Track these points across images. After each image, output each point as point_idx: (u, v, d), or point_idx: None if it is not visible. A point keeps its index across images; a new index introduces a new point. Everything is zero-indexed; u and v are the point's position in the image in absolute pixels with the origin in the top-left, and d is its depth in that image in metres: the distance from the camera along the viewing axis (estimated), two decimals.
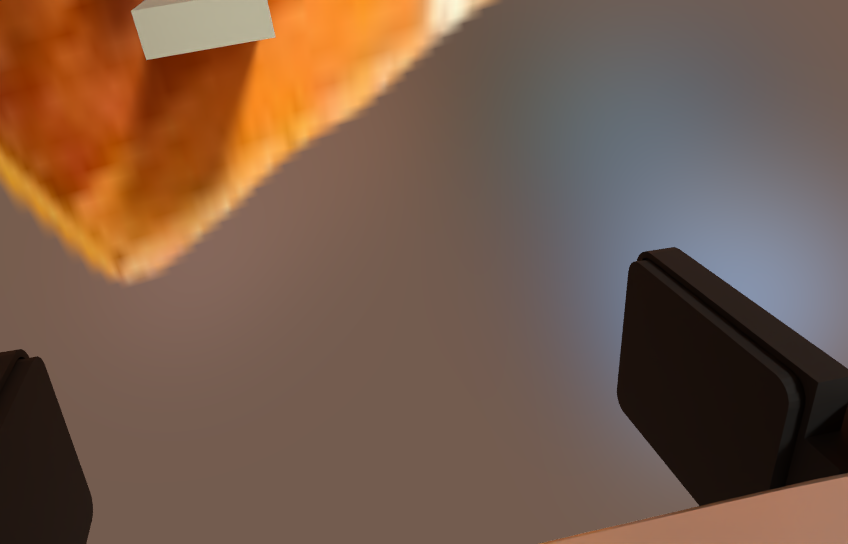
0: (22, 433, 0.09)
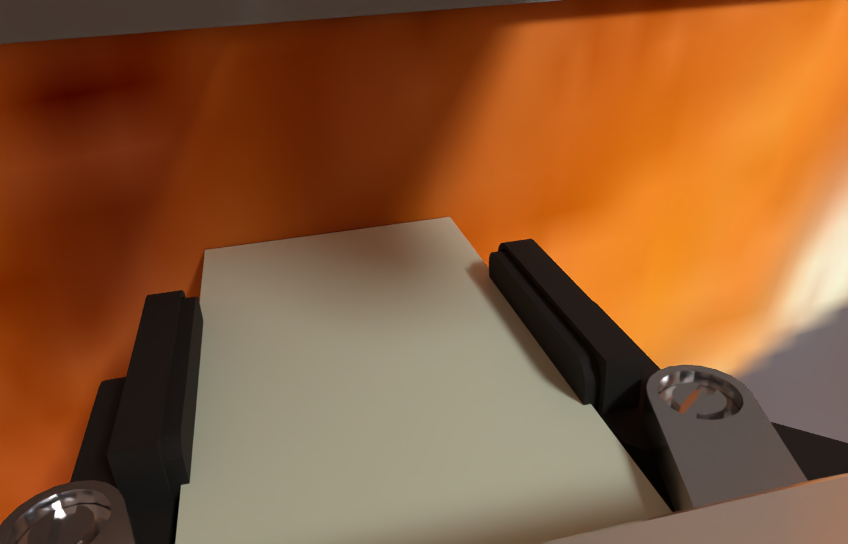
0: (197, 358, 0.10)
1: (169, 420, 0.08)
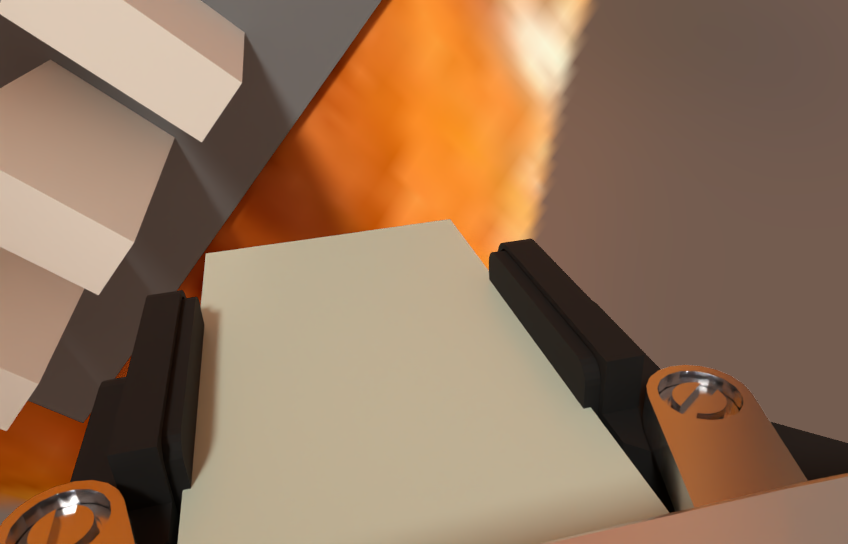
0: (198, 358, 0.10)
1: (169, 420, 0.08)
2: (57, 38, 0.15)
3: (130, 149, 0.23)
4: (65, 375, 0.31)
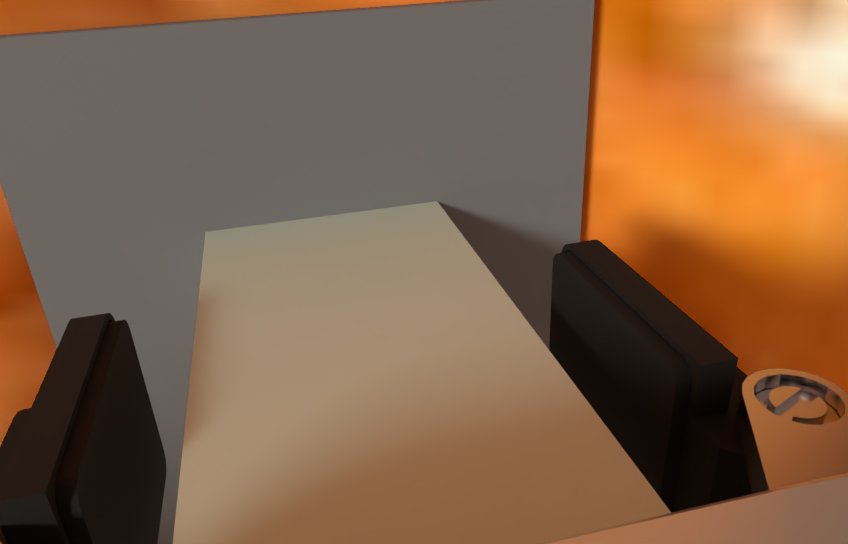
0: (120, 387, 0.09)
1: (67, 461, 0.07)
2: None
3: None
4: None
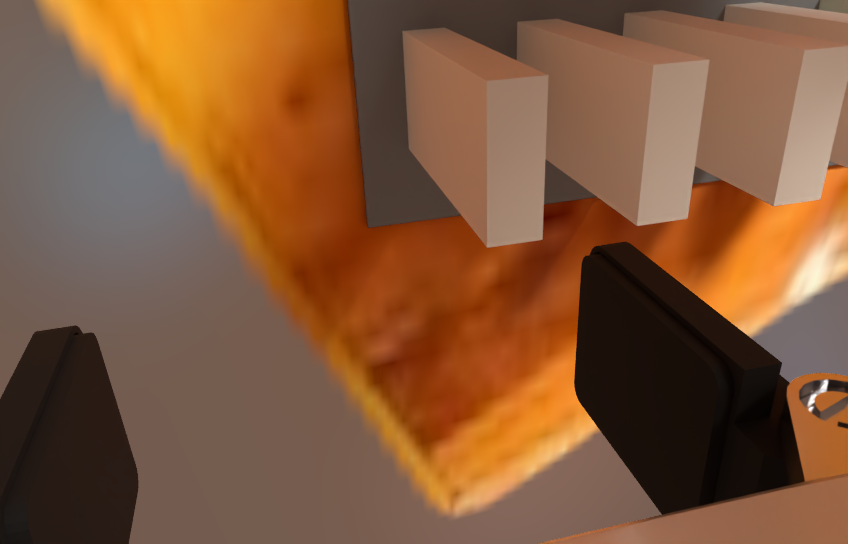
0: (82, 403, 0.09)
1: (18, 485, 0.07)
2: None
3: None
4: (407, 185, 0.31)
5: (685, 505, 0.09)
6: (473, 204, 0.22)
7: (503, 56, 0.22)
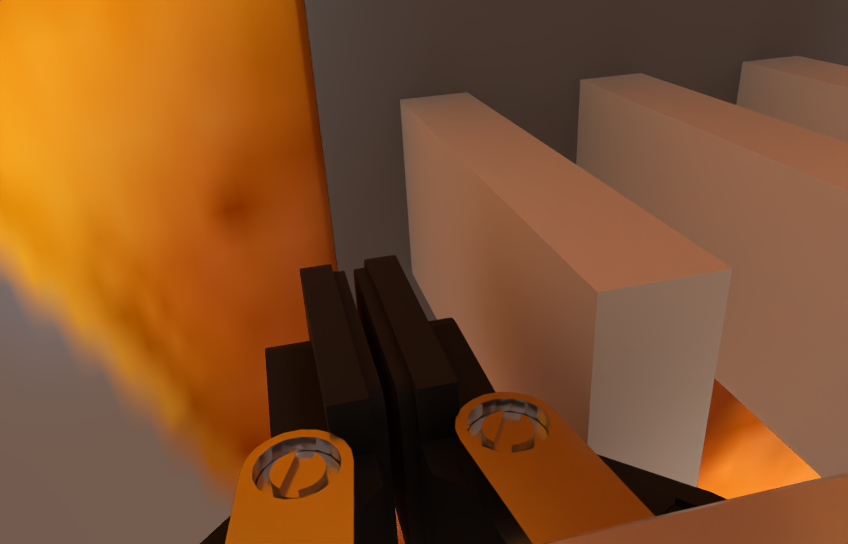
0: None
1: (367, 377, 0.08)
2: None
3: None
4: None
5: (405, 522, 0.09)
6: None
7: (596, 183, 0.11)
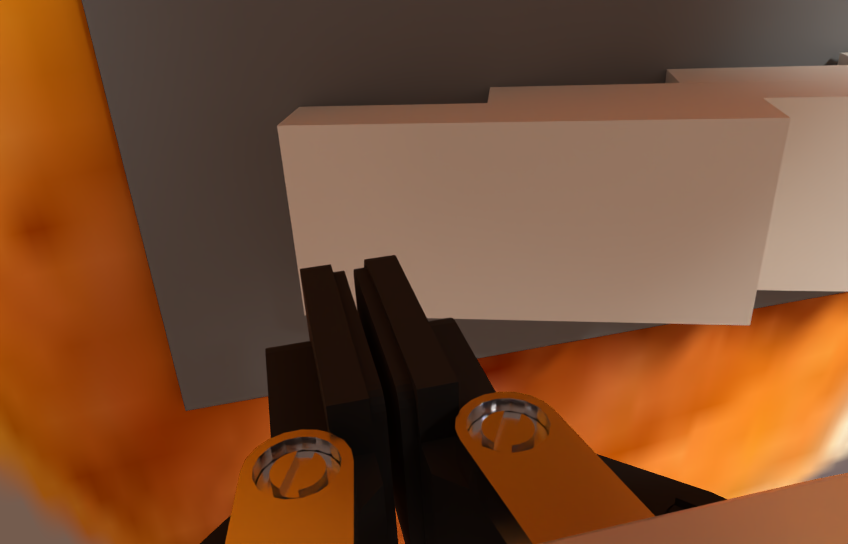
0: None
1: (367, 377, 0.08)
2: None
3: None
4: (242, 347, 0.20)
5: (405, 522, 0.09)
6: (696, 291, 0.16)
7: (611, 102, 0.16)
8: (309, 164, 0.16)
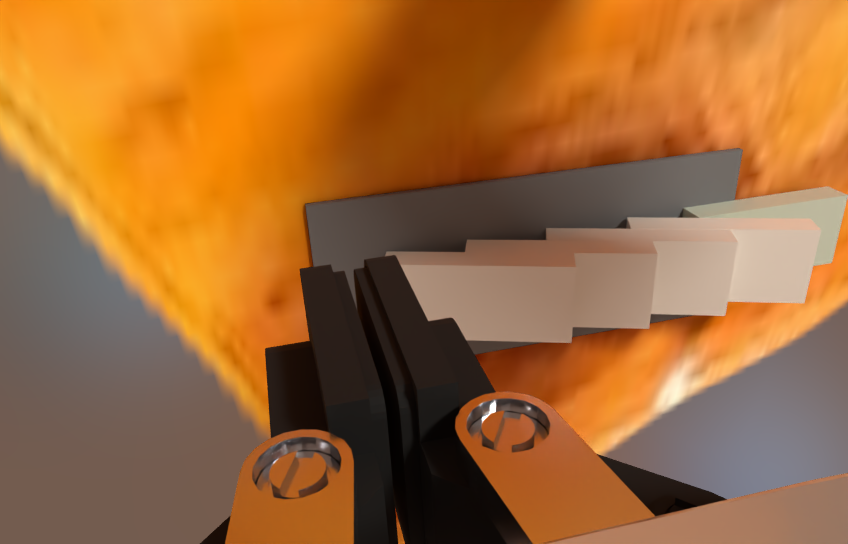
0: None
1: (368, 377, 0.08)
2: None
3: None
4: None
5: (405, 522, 0.09)
6: (549, 329, 0.40)
7: (514, 253, 0.40)
8: None
